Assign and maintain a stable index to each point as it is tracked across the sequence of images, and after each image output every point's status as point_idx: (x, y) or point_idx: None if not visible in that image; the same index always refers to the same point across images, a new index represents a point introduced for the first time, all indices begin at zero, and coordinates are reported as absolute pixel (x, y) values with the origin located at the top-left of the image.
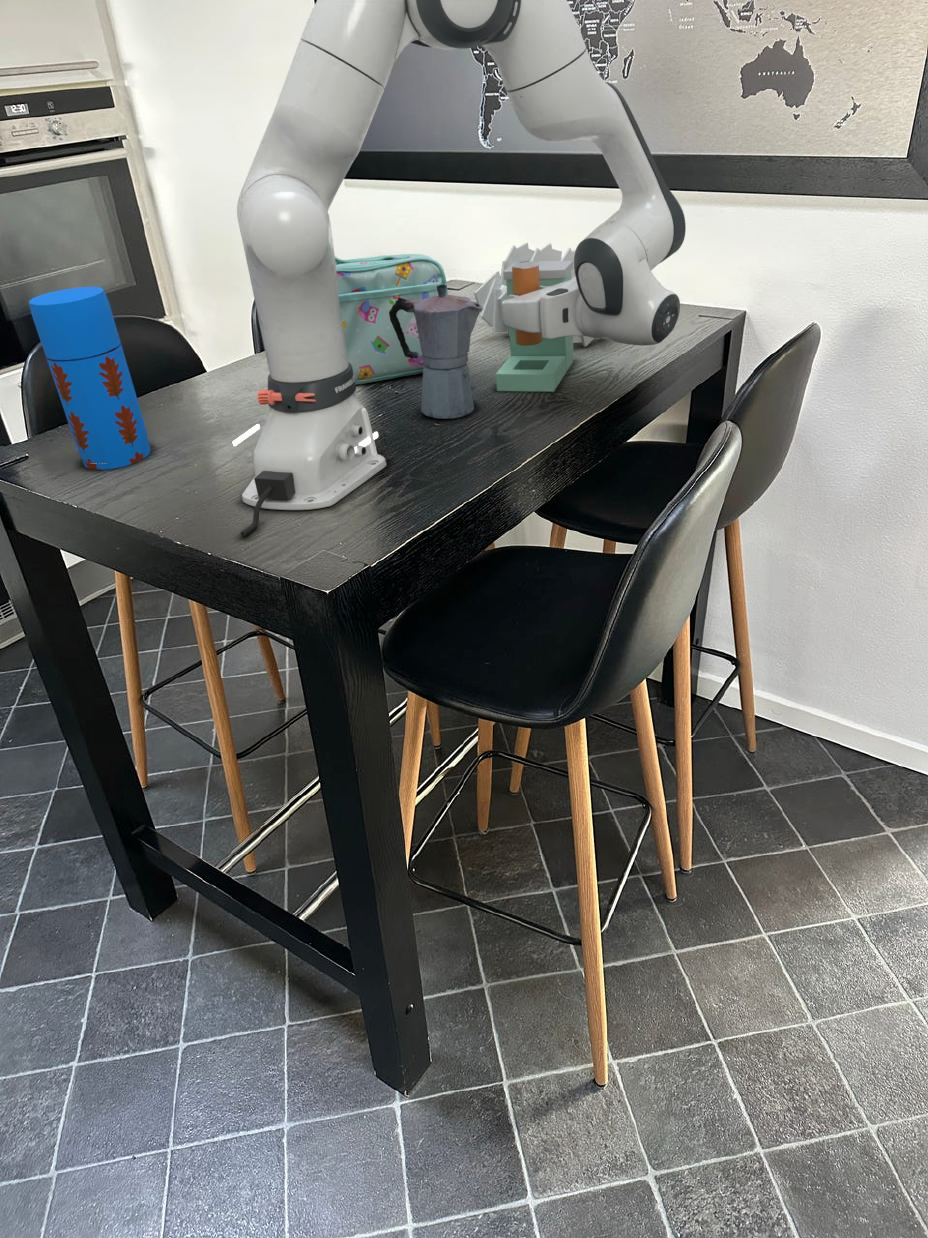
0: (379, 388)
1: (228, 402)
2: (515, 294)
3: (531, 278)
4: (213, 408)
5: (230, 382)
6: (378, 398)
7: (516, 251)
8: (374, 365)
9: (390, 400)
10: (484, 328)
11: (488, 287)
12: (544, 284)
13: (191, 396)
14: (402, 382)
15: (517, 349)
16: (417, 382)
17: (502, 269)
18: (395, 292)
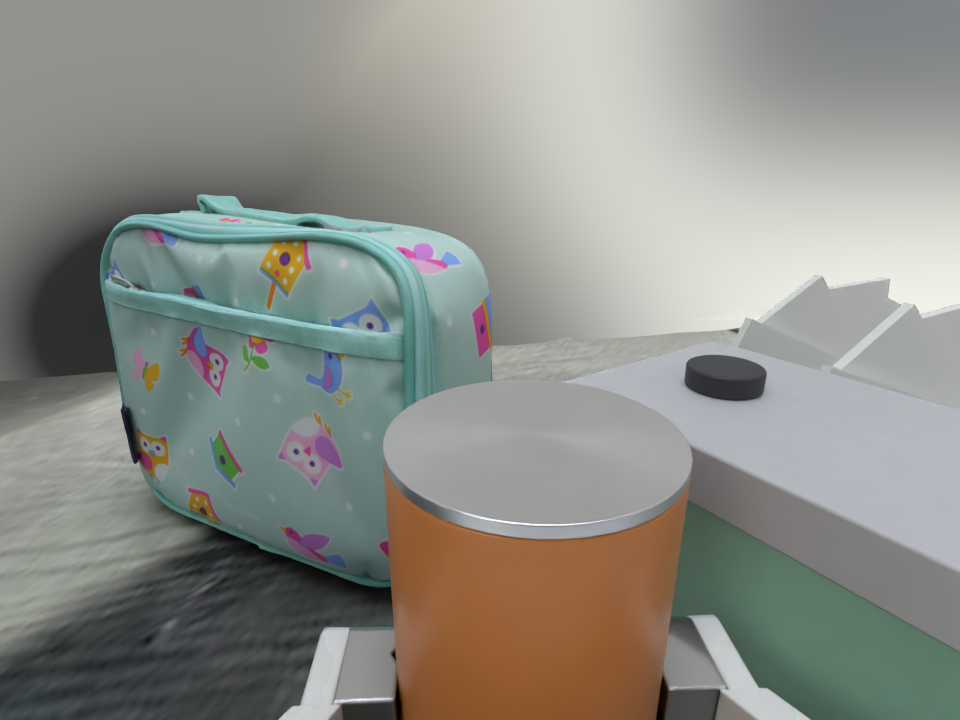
0: (191, 572)
1: (46, 440)
2: (366, 661)
3: (486, 645)
4: (4, 444)
5: None
6: (89, 629)
7: (824, 298)
8: (215, 501)
9: (67, 673)
10: None
11: None
12: (796, 599)
13: (85, 399)
14: (261, 581)
15: None
16: (275, 611)
17: (735, 345)
18: (251, 327)
